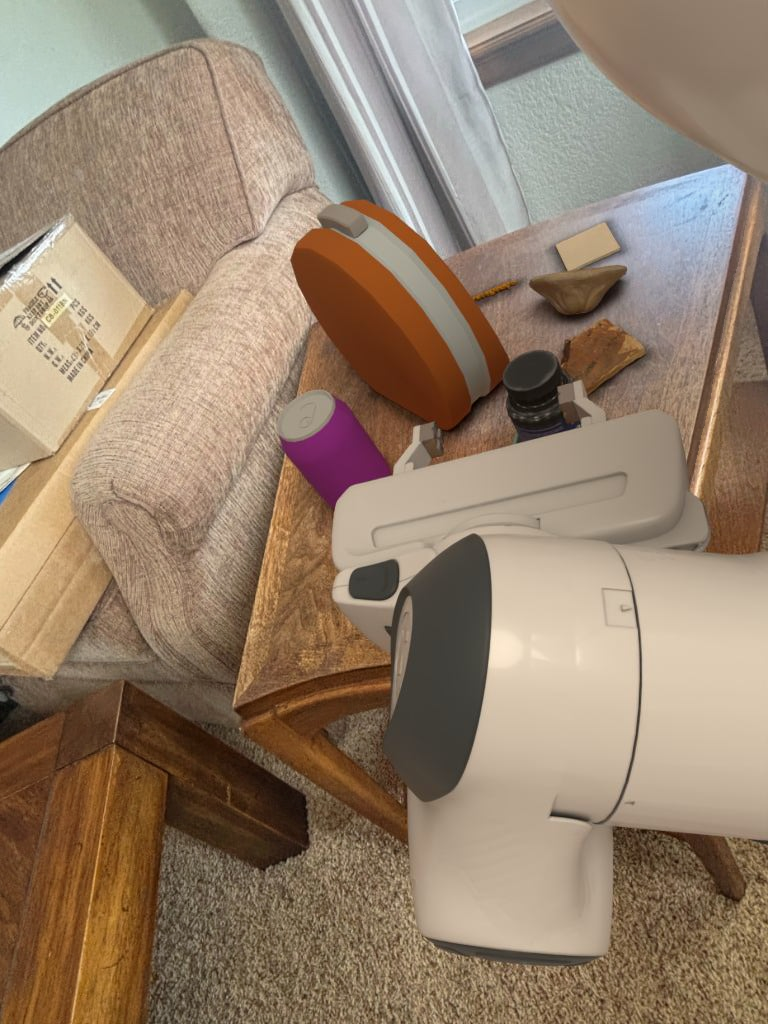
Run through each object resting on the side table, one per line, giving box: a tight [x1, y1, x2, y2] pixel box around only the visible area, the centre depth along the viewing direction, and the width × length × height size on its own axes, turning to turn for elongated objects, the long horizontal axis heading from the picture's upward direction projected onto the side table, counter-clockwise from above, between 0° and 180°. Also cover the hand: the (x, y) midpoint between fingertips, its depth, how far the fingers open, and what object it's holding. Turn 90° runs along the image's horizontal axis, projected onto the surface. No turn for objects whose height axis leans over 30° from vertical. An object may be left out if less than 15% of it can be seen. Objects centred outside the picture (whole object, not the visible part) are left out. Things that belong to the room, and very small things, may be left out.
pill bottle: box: [502, 349, 581, 442], centre depth 63 cm, size 6×6×11 cm
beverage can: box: [276, 389, 392, 511], centre depth 73 cm, size 8×8×12 cm
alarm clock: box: [289, 198, 511, 431], centre depth 74 cm, size 22×10×23 cm, turn 39°
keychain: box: [472, 280, 518, 302], centre depth 87 cm, size 8×1×1 cm
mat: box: [555, 221, 621, 271], centre depth 84 cm, size 6×6×1 cm
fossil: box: [528, 264, 628, 316], centre depth 77 cm, size 9×4×10 cm
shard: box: [559, 318, 646, 396], centre depth 73 cm, size 11×8×2 cm
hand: (497, 410), depth 46 cm, fingers open, 8 cm apart
